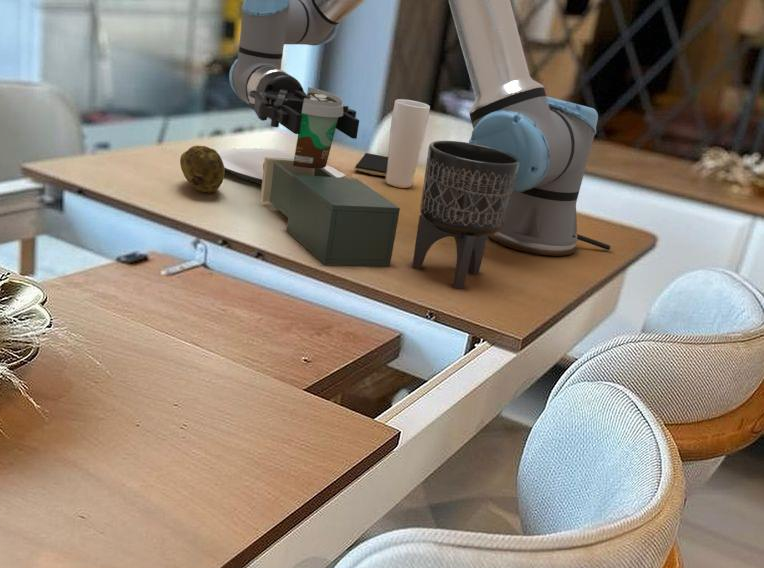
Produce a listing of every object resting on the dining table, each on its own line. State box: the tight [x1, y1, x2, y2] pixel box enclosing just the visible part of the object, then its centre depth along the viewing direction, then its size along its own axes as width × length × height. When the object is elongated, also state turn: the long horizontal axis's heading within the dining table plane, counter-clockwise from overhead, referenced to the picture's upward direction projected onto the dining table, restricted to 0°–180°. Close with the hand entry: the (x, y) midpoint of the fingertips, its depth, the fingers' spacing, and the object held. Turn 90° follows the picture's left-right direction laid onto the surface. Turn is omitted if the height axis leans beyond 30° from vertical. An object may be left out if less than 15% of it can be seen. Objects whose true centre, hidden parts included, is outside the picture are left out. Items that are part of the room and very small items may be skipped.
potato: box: [179, 145, 226, 193], centre depth 166 cm, size 8×13×8 cm, turn 174°
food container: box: [293, 86, 344, 169], centre depth 157 cm, size 12×6×10 cm, turn 179°
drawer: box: [260, 157, 335, 218], centre depth 164 cm, size 19×9×7 cm, turn 23°
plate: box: [216, 148, 347, 185], centre depth 186 cm, size 23×23×2 cm
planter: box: [412, 140, 520, 290], centre depth 145 cm, size 13×13×18 cm
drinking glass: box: [385, 98, 431, 189], centre depth 192 cm, size 7×7×15 cm
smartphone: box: [354, 152, 388, 177], centre depth 204 cm, size 7×1×15 cm
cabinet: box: [286, 175, 401, 267], centre depth 151 cm, size 16×11×9 cm
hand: (327, 127), depth 152 cm, fingers closed on food container, 9 cm apart
